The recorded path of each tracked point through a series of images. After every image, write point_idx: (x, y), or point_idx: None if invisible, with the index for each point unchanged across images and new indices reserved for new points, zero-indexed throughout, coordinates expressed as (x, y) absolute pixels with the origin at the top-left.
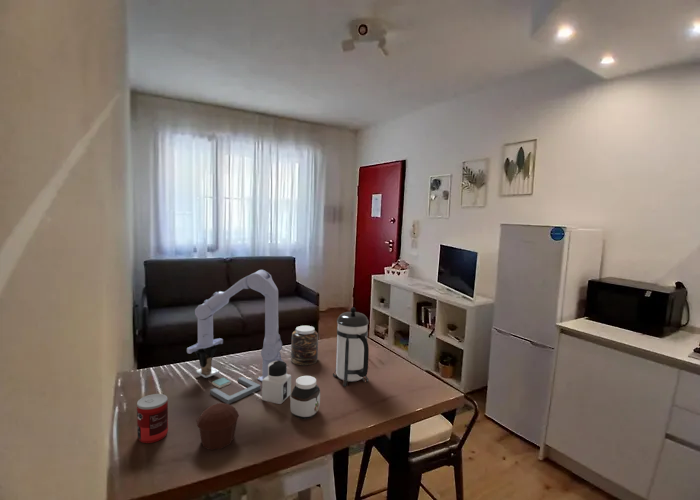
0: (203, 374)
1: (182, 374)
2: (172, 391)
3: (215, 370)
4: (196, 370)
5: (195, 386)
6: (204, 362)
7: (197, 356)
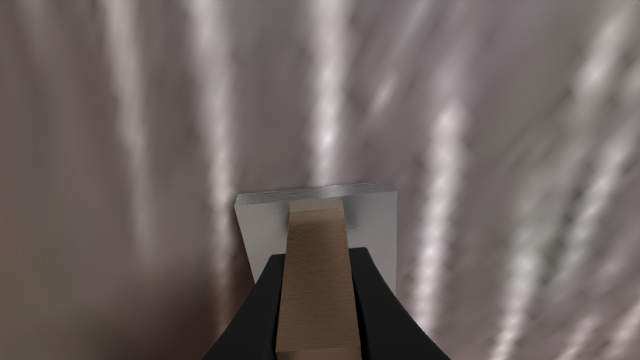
0: None
1: (142, 49)
2: (34, 278)
3: None
4: (238, 210)
5: (191, 304)
6: None
7: (206, 356)
